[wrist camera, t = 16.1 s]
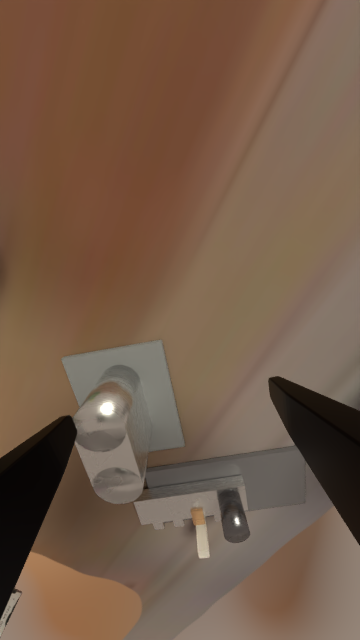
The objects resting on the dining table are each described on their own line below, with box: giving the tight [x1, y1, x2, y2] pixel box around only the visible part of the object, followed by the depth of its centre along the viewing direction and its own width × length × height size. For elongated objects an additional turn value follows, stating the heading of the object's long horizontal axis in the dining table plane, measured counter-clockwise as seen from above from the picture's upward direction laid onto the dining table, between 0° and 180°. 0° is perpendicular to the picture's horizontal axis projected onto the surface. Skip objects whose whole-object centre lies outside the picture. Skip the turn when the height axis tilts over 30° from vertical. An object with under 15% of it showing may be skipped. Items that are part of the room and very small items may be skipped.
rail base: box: [145, 446, 305, 559], centre depth 23 cm, size 19×9×4 cm, turn 100°
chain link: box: [72, 365, 152, 504], centre depth 18 cm, size 4×10×6 cm, turn 10°
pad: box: [61, 340, 185, 452], centre depth 21 cm, size 10×13×1 cm
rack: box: [134, 475, 250, 543], centre depth 22 cm, size 13×5×4 cm, turn 100°
